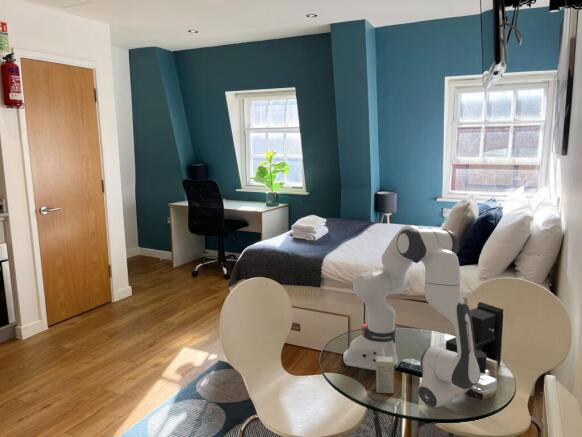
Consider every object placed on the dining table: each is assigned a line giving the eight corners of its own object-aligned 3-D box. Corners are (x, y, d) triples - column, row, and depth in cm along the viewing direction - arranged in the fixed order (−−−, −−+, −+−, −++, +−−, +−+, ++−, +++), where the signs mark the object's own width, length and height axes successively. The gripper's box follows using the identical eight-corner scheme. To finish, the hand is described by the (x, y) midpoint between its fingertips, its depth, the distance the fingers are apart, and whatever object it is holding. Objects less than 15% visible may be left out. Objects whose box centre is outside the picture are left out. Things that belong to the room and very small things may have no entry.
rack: (484, 400, 154) (486, 368, 152) (460, 389, 161) (462, 358, 159) (495, 393, 158) (497, 361, 156) (471, 382, 165) (473, 352, 163)
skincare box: (393, 387, 163) (393, 356, 161) (393, 394, 159) (394, 362, 157) (375, 386, 164) (376, 355, 162) (375, 392, 160) (376, 361, 158)
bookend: (464, 381, 167) (467, 322, 163) (440, 369, 176) (443, 313, 172) (501, 364, 179) (504, 309, 175) (477, 354, 188) (480, 301, 184)
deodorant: (470, 387, 162) (472, 348, 160) (486, 393, 158) (489, 353, 156) (463, 393, 158) (465, 353, 156) (479, 399, 154) (482, 359, 152)
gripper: (485, 385, 141) (507, 371, 149) (430, 361, 157) (453, 350, 165) (484, 403, 142) (506, 388, 150) (430, 377, 158) (452, 365, 166)
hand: (478, 368), depth 157 cm, fingers closed on deodorant, 6 cm apart
